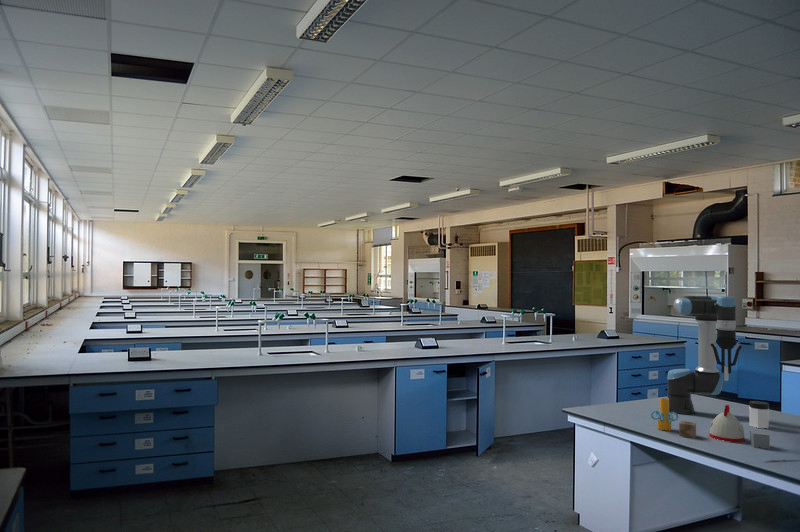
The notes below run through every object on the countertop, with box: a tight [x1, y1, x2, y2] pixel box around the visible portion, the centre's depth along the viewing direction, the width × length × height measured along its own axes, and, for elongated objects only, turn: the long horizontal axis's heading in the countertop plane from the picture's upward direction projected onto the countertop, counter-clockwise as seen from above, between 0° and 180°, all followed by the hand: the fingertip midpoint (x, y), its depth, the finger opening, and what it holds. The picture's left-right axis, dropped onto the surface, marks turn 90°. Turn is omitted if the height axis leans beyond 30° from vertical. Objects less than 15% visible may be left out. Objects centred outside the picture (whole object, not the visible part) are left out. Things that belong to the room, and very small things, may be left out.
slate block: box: [749, 429, 771, 450], centre depth 240 cm, size 6×6×6 cm
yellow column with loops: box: [650, 397, 679, 432], centre depth 266 cm, size 12×10×15 cm
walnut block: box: [678, 420, 697, 439], centre depth 255 cm, size 6×6×6 cm
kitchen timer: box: [709, 404, 745, 443], centre depth 253 cm, size 14×14×15 cm
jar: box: [748, 400, 770, 429], centre depth 274 cm, size 9×8×12 cm
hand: (726, 380), depth 254 cm, fingers closed
